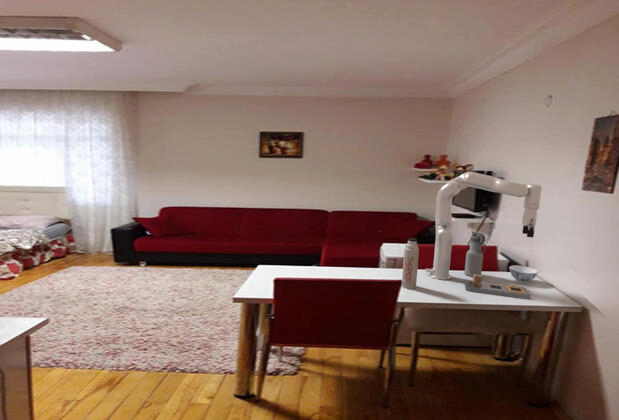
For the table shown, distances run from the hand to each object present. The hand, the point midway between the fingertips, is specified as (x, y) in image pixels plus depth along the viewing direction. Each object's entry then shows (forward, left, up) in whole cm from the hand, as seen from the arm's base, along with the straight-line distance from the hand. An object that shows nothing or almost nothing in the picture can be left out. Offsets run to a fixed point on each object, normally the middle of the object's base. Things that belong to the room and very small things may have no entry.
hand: (527, 235), depth 209 cm
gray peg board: (-16, -14, -31) cm, 38 cm away
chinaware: (+3, +12, -31) cm, 34 cm away
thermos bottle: (-63, -26, -31) cm, 75 cm away
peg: (-26, -14, -31) cm, 43 cm away
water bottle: (-25, +12, -31) cm, 42 cm away
